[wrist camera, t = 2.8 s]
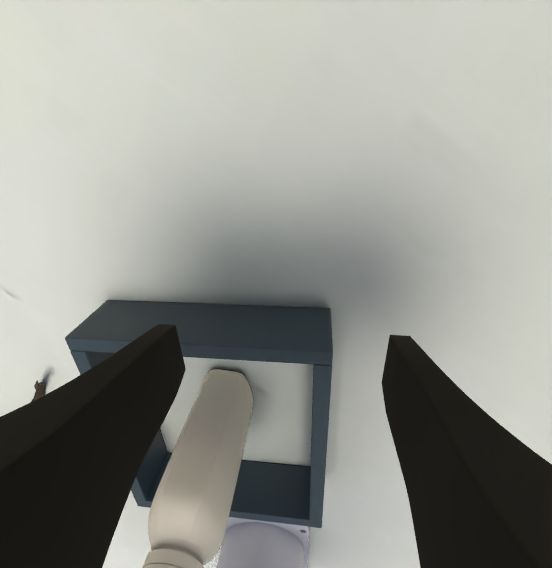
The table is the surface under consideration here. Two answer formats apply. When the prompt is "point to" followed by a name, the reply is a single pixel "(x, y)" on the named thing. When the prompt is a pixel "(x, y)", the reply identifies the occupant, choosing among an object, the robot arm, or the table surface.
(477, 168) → the table surface
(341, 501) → the table surface
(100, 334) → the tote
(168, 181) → the table surface
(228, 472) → the eye dropper bottle
